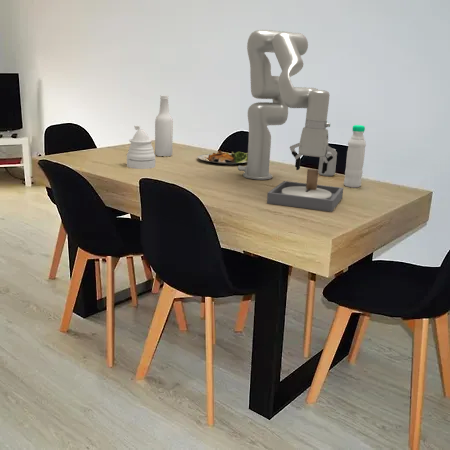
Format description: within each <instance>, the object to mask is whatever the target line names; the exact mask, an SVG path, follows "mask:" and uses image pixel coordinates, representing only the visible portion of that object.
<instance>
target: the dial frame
mask: <svg viewBox="0 0 450 450" xmlns="http://www.w3.org/2000/svg"><path fill="white" fill-rule="evenodd" d="M293 186H305V187H306V182H297V181H288V180H287V181H286V180H283V181H282V182H280V183H279V184H278V185H277V186H275V187H274V188H272V189H271V190H269V191H267V197H266V204H269V205H277V206H285V207H294V208H302V209H306V210H307V209H308V210H309V209H310V210H315V211H322V212H323V211H324V212H333V211H335V208H337V206H338V204H339V203H340V202H341V200H342V199H343V194H344V187H341V186H333V185H331V186H330V185H323V184H322V185H321V184H317V188H320V189H324V190H327V191H329V192H331V193H332V195H331V199H330V200H328V199H320V198H312V197H304V196H296V195H288V194H282V189H283V188H286V187H293Z"/></svg>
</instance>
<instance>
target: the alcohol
mask: <svg viewBox="0 0 450 450" xmlns="http://www.w3.org/2000/svg"><path fill="white" fill-rule="evenodd" d="M158 111H159V112H158V115H156V117H155V121H154V132H155V133H154V154H155V156H156V155H157V156H156V157H159V156H170V157H172V156H173V142H174V141H173V138H174V137H173V135H174V133H173V131H174V129H173V128H174V127H173V126H174V121H173V118H172V116H171V114H170V109H169V95H168V94H161V95H160V101H159V110H158ZM171 155H172V156H171Z"/></svg>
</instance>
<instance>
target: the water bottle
mask: <svg viewBox="0 0 450 450" xmlns="http://www.w3.org/2000/svg"><path fill="white" fill-rule="evenodd" d="M365 130H366V126H365V125H360V124H354V125H353V126H352V135H351V136H350V138H349V140H348V142H347V146H348V147H347V151H346V161H345V162H346V163H345V171H344V179H343V185H344V186H345V187H348V188H353V189H354V188H356V189H357V188H361V186H362V177H363V167H364V161H365V154H366V153H365V151H366V146H367V143H366V139H365V136H364V132H365Z"/></svg>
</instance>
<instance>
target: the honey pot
mask: <svg viewBox="0 0 450 450" xmlns="http://www.w3.org/2000/svg"><path fill="white" fill-rule="evenodd" d="M134 130H136V132H135V134H134V135H133V137H132V138H130V139H129V140H128V141H129V143H130V145H129V147H128V151H127V154H126V166H127V168H130V169H137V170H139V169H140V170H142V169H143V170H145V169H147V170H148V169H152V168H156V155H155V149H154V147H153V144H152V141H153V140H152V139H150V137H149V135H148V133H147V132H146V131H145V130H144V129H141V125H134Z"/></svg>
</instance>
